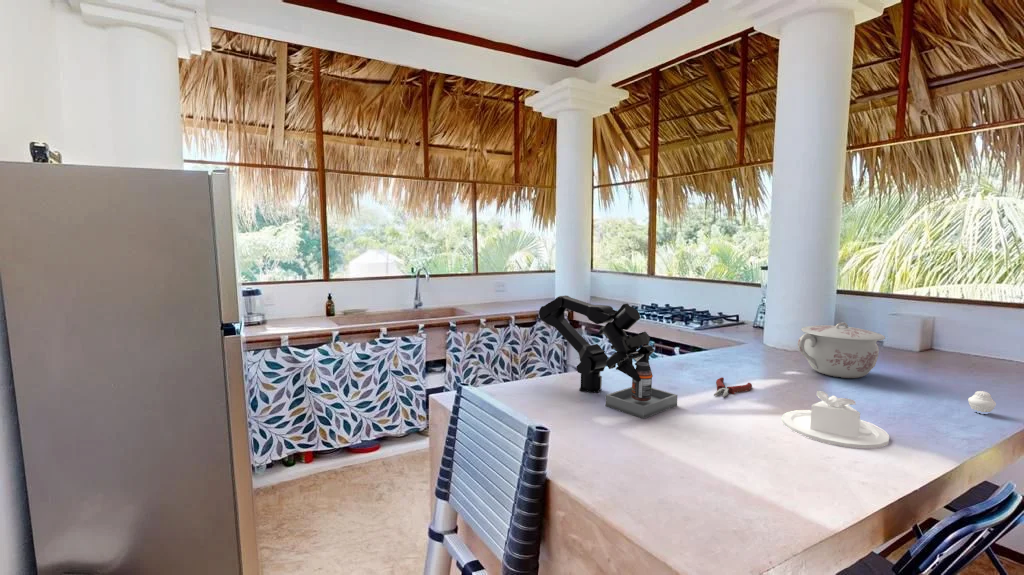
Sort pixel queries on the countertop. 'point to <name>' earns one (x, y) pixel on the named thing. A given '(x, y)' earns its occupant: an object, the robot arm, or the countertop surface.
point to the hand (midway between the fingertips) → (645, 379)
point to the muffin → (982, 402)
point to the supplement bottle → (642, 383)
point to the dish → (835, 424)
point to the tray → (641, 402)
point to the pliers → (730, 388)
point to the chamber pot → (840, 349)
